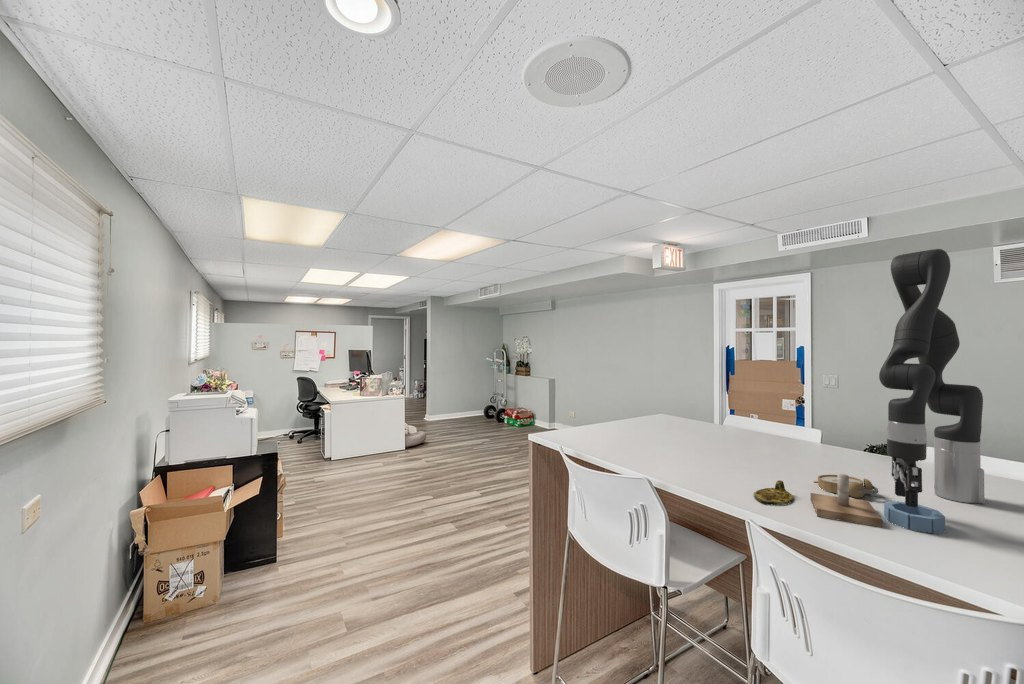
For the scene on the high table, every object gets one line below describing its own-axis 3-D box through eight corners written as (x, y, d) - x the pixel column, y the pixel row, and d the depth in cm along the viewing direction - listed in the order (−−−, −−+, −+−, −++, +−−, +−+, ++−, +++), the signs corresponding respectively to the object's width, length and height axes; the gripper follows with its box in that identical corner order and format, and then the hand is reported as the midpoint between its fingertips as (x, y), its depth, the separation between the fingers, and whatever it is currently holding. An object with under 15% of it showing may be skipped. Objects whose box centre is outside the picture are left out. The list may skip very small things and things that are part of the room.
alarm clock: (828, 472, 136) (884, 477, 122) (831, 488, 135) (888, 495, 122) (808, 478, 131) (865, 483, 117) (811, 494, 130) (868, 501, 117)
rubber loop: (933, 519, 106) (933, 506, 106) (951, 536, 97) (950, 521, 97) (880, 511, 111) (880, 498, 111) (892, 527, 102) (892, 512, 102)
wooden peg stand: (868, 508, 113) (868, 472, 113) (881, 527, 102) (881, 486, 102) (810, 499, 120) (810, 465, 120) (817, 516, 108) (816, 478, 108)
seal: (782, 514, 113) (798, 499, 123) (784, 498, 113) (801, 484, 122) (745, 500, 120) (764, 487, 130) (747, 485, 120) (766, 473, 129)
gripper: (936, 446, 100) (936, 513, 100) (916, 435, 112) (915, 495, 112) (895, 442, 104) (895, 507, 103) (879, 432, 116) (879, 490, 116)
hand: (905, 500), depth 108 cm, fingers open, 8 cm apart
